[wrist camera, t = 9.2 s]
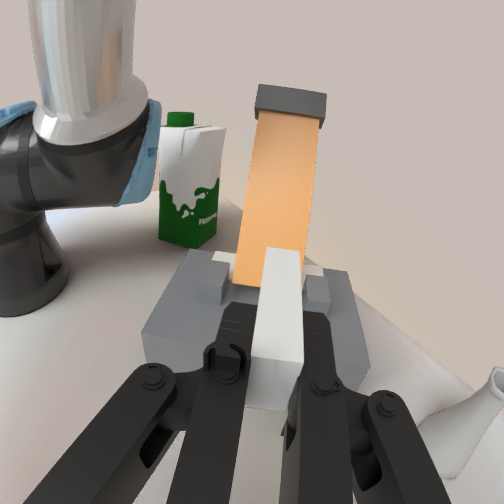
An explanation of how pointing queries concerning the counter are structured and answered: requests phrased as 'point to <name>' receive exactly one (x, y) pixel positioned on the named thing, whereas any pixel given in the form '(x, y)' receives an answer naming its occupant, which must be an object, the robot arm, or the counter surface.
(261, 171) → the lever
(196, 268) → the switch box
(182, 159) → the milk carton
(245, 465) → the counter surface
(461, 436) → the flask
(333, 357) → the robot arm
